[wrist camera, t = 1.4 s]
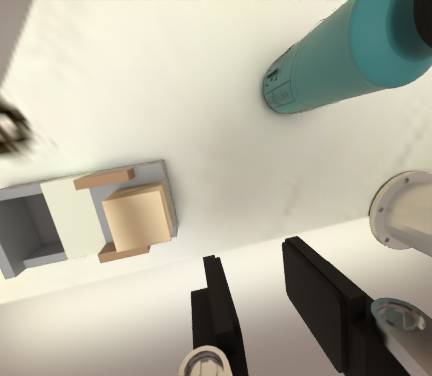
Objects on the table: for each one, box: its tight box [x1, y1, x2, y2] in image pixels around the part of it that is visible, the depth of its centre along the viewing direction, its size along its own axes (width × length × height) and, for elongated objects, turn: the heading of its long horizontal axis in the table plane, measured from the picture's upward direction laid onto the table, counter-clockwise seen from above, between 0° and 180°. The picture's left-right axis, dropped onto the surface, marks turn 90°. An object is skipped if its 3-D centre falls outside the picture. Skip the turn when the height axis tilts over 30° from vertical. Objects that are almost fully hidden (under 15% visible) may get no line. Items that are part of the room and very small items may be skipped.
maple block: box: [102, 180, 174, 252], centre depth 22 cm, size 5×5×5 cm
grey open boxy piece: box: [0, 160, 178, 279], centre depth 24 cm, size 18×9×6 cm, turn 99°
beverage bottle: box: [263, 0, 432, 114], centre depth 17 cm, size 6×7×20 cm
